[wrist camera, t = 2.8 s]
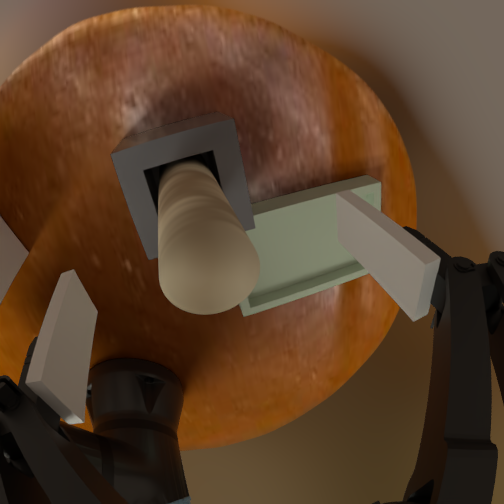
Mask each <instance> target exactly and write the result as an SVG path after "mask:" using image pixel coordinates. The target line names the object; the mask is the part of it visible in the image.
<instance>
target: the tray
mask: <svg viewBox="0 0 504 504" xmlns="http://www.w3.org/2000/svg"><path fill="white" fill-rule="evenodd" d="M345 190H350V191H352V192H353V193H355V194H356V195H358V196H359V197H360V198H362V199H363V200H365V201H366V202H368V203H369V204H370V205H372V206H373V207H375V208H376V209H378V210H379V211H380V212H381V182H380V181H378V180H376V179H374V178H373V177H371V176H369V175H364V176H360V177H356V178H351V179H347V180H343V181H339V182H335V183H331V184H326V185H322V186H318V187H314V188H310V189H306V190H302V191H299V192H295V193H291V194H287V195H283V196H279V197H276V198H272V199H268V200H264V201H261V202H257V203H253V204H251V207H252V212H253V217H254V222H255V227H256V228H255V229H252V230H248V231H245V232H246V234H247V235H248V237H249V239H250V241H251V242H252V244H253V246H254V248H255V249H256V251H257V254H258V256H259V260H260V274H259V278H258V281H257V283H256V285H255V287H254V289H253V290H252V292H251V293H250V294H249V295H248V297H247V298H246V299H244V300H243V301H242V302H241V303H239V306H240V309H241V311H242V314H243V317H245V316H248V315H251V314H254V313H258V312H261V311H264V310H267V309H270V308H273V307H276V306H279V305H282V304H285V303H288V302H291V301H294V300H297V299H300V298H303V297H305V296H308V295H311V294H314V293H317V292H320V291H323V290H325V289H328V288H331V287H334V286H336V285H339V284H342V283H345V282H347V281H350V280H353V279H355V278H358V277H361V276H363V275H366V274H369V272H368V271H367V270H366V269H365V268H364V267H363V266H362V265H361V264H360V263H359V262H358V261H357V260H356V259H355V258H354V257H353V256H352V255H351V254H350V253H349V252H348V251H347V249H346V248H345V247H344V246H343V245H342V244H341V243H340V242H339V241H338V233H337V209H336V193H337V192H341V191H345Z"/></svg>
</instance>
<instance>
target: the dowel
mask: <svg viewBox="0 0 504 504" xmlns="http://www.w3.org/2000/svg"><path fill="white" fill-rule="evenodd" d="M158 264H159V282H160V286H161V289H162V291H163V293H164V295H165V296H166V297H167V299H168V300H169V301H170V302H171V303H172V304H174V305H175V306H176V307H178V308H180V309H182V310H184V311H186V312H190V313H194V314H202V315H207V314H216V313H220V312H224V311H226V310H229V309H231V308H233V307H235V306H236V305H238V304H239V303H241V302H242V301H243V300H244V299H246V298H247V297H248V295H249V294H250V293H251V292H252V290H253V289H254V287H255V285H256V283H257V281H258V278H259V274H260V260H259V256H258V254H257V251H256V249H255V248H254V246H253V244H252V242H251V241H250V239H249V237H248V235H247V234H246V232H245V230H244V228H243V226H242V225H241V223H240V221H239V219H238V218H237V216H236V214H235V212H234V211H233V209H232V207H231V205H230V204H229V202H228V200H227V198H226V197H225V195H224V193H223V191H222V190H221V188H220V186H219V184H218V183H217V181H216V179H215V177H214V176H213V174H212V172H211V170H210V169H209V167H208V165H207V163H206V162H205V160H204V158H203V157H202V156H201V155H200V154H196V155H193V156H189V157H185V158H182V159H179V160H175V161H172V162H168V163H165V164H162V165H160V168H159V193H158Z"/></svg>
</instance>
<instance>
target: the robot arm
mask: <svg viewBox="0 0 504 504" xmlns="http://www.w3.org/2000/svg"><path fill="white" fill-rule="evenodd" d="M336 209H337V233H338V241H339V242H340V243H341V244H342V245H343V246H344V247H345V248H346V249H347V251H348V252H349V253H350V254H351V255H352V256H353V257H354V258H355V259H356V260H357V261H358V262H359V263H360V264H361V265H362V266H363V267H364V268H365V269H366V270H367V271H368V272H369V273H370V275H371V276H372V277H373V278H374V279H375V280H376V281H377V282H378V283H379V284H380V285H381V286H382V287H383V289H384V290H385V291H386V292H387V293H388V294H389V295H390V296H391V297H392V298H393V299H394V301H395V302H396V303H397V304H398V305H399V306H400V307H401V308H402V309H403V311H404V312H405V313H406V314H407V315H408V316H409V317H410V318H411V320H412V321H416V320H417V319H420V318H421V317H423V316H425V315H427V314H428V311H429V306H430V303H431V304H432V305H433V306H434V307H435V308H436V311H435V314H434V318H433V321H432V324H431V328H433V326H434V338H433V339H434V340H433V355H432V367H431V377H430V387H429V395H428V402H427V409H426V416H425V422H424V428H423V433H422V438H421V443H420V449H419V453H418V458H417V462H416V466H415V469H414V472H413V474H412V476H411V478H410V480H409V483H408V485H407V488H406V491H405V494H404V498H403V501H400V502H388V503H383V504H491V501H492V496H493V489H494V483H495V476H496V469H497V459H498V450H497V447H496V445H495V444H493V443H492V442H491V440H490V431H491V403H492V401H491V400H492V398H491V397H492V395H491V391H492V390H491V362H490V356H491V359H492V362H493V366H494V369H495V373H496V376H497V380H498V384H499V387H500V391H501V396H502V400H503V403H504V306H503V304H502V303H504V252H501V251H495V252H492V253H491V254H490V256H489V260H488V263H484V264H477V265H476V264H475V263H474V262H473V261H471V260H469V259H468V258H464V257H453V258H451V256H449V255H448V254H447V253H445V252H444V251H443V250H442V249H441V248H439V247H438V246H437V245H435V244H434V243H433V242H431V241H430V240H429V239H428V238H425V237H424V235H422V234H421V233H420V232H418V231H417V230H415V229H412V228H410V227H407V226H405V227H401V226H399V225H398V224H397V223H395V222H394V221H393V220H391V219H390V218H389V217H387V216H386V215H384V214H383V213H382V212H380V211H379V210H378V209H376V208H375V207H373V206H372V205H370V204H369V203H368V202H366V201H365V200H363V199H362V198H360V197H359V196H358V195H356V194H355V193H353V192H352V191H350V190H345V191H341V192H337V193H336ZM97 314H98V311H97V309H96V308H95V306H94V304H93V303H92V301H91V299H90V297H89V296H88V294H87V292H86V290H85V289H84V287H83V285H82V283H81V281H80V280H79V278H78V276H77V274H76V272H75V270H74V269H73V270H70V271H67V272H64V273H61V276H60V278H59V280H58V283H57V285H56V288H55V291H54V293H53V296H52V298H51V301H50V304H49V307H48V309H47V312H46V315H45V318H44V321H43V324H42V327H41V330H40V333H39V336H38V337H35V338H34V340H33V341H32V343H31V345H30V346H29V349H28V352H27V355H26V356H27V358H26V359H25V362H24V364H25V365H24V366H23V369H22V373H21V377H20V380H19V384H18V386H17V385H16V384H15V383H14V382H13V381H12V380H11V379H10V377H9V376H6V375H3V376H0V504H190V500H191V498H190V496H189V493H188V488H187V484H186V480H185V475H184V470H183V465H182V460H181V455H180V449H179V444H178V438H177V429H178V425H179V420H180V416H181V411H182V407H183V392H182V386H181V383H180V381H179V379H178V378H177V377H176V375H175V374H173V373H172V372H171V371H170V370H168V369H167V368H165V367H163V366H161V365H158V364H156V363H153V362H149V361H145V360H140V359H114V360H109V361H106V362H103V363H100V364H98V365H96V366H95V367H93V368H92V369H91V370H90V371H89V365H90V357H91V350H92V343H93V337H94V331H95V325H96V319H97ZM85 403H86V406H87V409H88V413H89V416H90V419H91V423H92V426H93V433H92V432H89V431H87V430H84V429H81V428H78V427H76V426H73V425H70V424H76V423H84V417H85ZM60 417H61V418H62V419H63V420H64V421H66V422H67V423H65V422H63V421H60ZM373 504H380V502H379V501H377V502H375V503H373Z"/></svg>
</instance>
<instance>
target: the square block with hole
mask: <svg viewBox="0 0 504 504" xmlns="http://www.w3.org/2000/svg"><path fill="white" fill-rule="evenodd" d="M196 154H200V155H201V156H202V157H203V158H204V160H205V162H206V163H207V165H208V167H209V169H210V170H211V172H212V174H213V176H214V177H215V179H216V181H217V183H218V184H219V186H220V188H221V190H222V191H223V193H224V195H225V197H226V198H227V200H228V202H229V204H230V205H231V207H232V209H233V211H234V212H235V214H236V216H237V218H238V219H239V221H240V223H241V225H242V226H243V228H244V230H245V231H248V230H252V229H255V228H256V227H255V222H254V217H253V212H252V207H251V202H250V197H249V192H248V187H247V181H246V176H245V171H244V166H243V161H242V156H241V151H240V146H239V141H238V136H237V131H236V126H235V121H234V118H231V117H229V116H227V115H225V114H222V113H220V112H214V113H210V114H206V115H202V116H198V117H194V118H190V119H186V120H182V121H179V122H175V123H172V124H168V125H165V126H161V127H158V128H155V129H151V130H148V131H145V132H142V133H139V134H136V135H133V136H130V137H127V138H124V139H122V140H121V142H120V143H119V144H118V145H117V147H116V148H115V149H114V150H113V152H112V153H111V157H112V161H113V164H114V167H115V170H116V173H117V176H118V179H119V182H120V185H121V188H122V191H123V194H124V196H125V199H126V202H127V205H128V208H129V210H130V213H131V216H132V219H133V221H134V224H135V227H136V229H137V232H138V234H139V237H140V240H141V242H142V245H143V247H144V250H145V252H146V255H147V257H148V260H151V259H154V258H158V193H159V168H160V165H162V164H165V163H168V162H172V161H175V160H179V159H182V158H185V157H189V156H193V155H196Z"/></svg>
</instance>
